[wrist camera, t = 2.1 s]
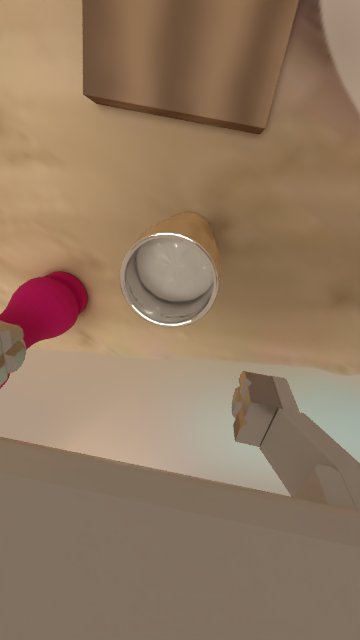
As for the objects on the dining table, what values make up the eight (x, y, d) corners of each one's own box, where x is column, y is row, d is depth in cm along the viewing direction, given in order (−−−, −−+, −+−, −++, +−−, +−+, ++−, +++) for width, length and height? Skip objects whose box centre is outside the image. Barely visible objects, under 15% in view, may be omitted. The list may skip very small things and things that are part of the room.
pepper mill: (93, 320, 37) (-16, 445, 19) (44, 314, 37) (-107, 432, 20) (88, 270, 33) (-51, 366, 16) (34, 264, 34) (-159, 352, 16)
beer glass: (160, 203, 29) (116, 220, 16) (223, 212, 29) (232, 237, 15) (155, 265, 32) (115, 321, 19) (212, 273, 32) (211, 337, 19)
